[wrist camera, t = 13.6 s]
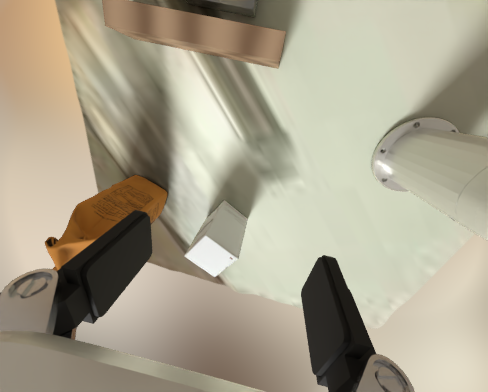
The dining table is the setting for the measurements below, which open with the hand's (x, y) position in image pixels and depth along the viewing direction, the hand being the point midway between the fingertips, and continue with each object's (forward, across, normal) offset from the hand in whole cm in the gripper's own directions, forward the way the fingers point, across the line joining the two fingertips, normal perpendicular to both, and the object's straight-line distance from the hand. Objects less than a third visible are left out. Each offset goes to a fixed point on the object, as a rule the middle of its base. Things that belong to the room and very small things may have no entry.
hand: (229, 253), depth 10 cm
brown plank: (+28, +12, -14) cm, 34 cm away
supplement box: (+28, +4, +18) cm, 34 cm away
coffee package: (+28, +24, +18) cm, 41 cm away
